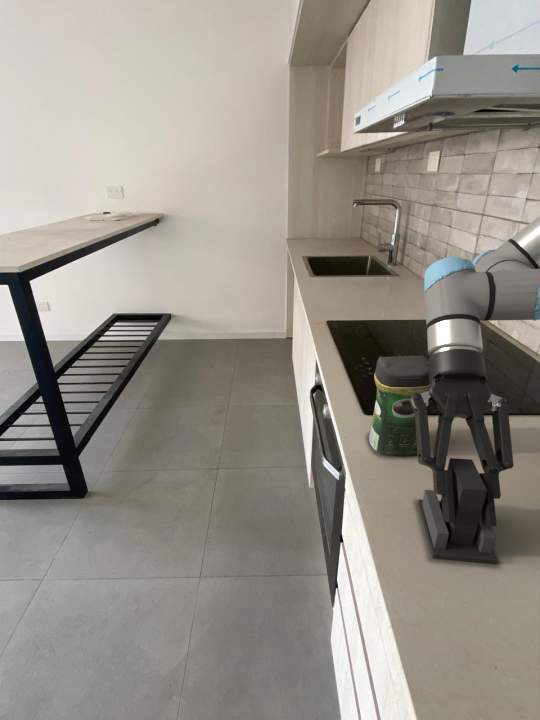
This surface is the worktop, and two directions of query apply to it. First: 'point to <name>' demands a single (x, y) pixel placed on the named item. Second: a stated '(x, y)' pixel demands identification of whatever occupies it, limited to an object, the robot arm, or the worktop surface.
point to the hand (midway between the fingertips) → (469, 523)
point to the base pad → (439, 535)
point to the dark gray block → (465, 501)
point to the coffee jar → (397, 404)
